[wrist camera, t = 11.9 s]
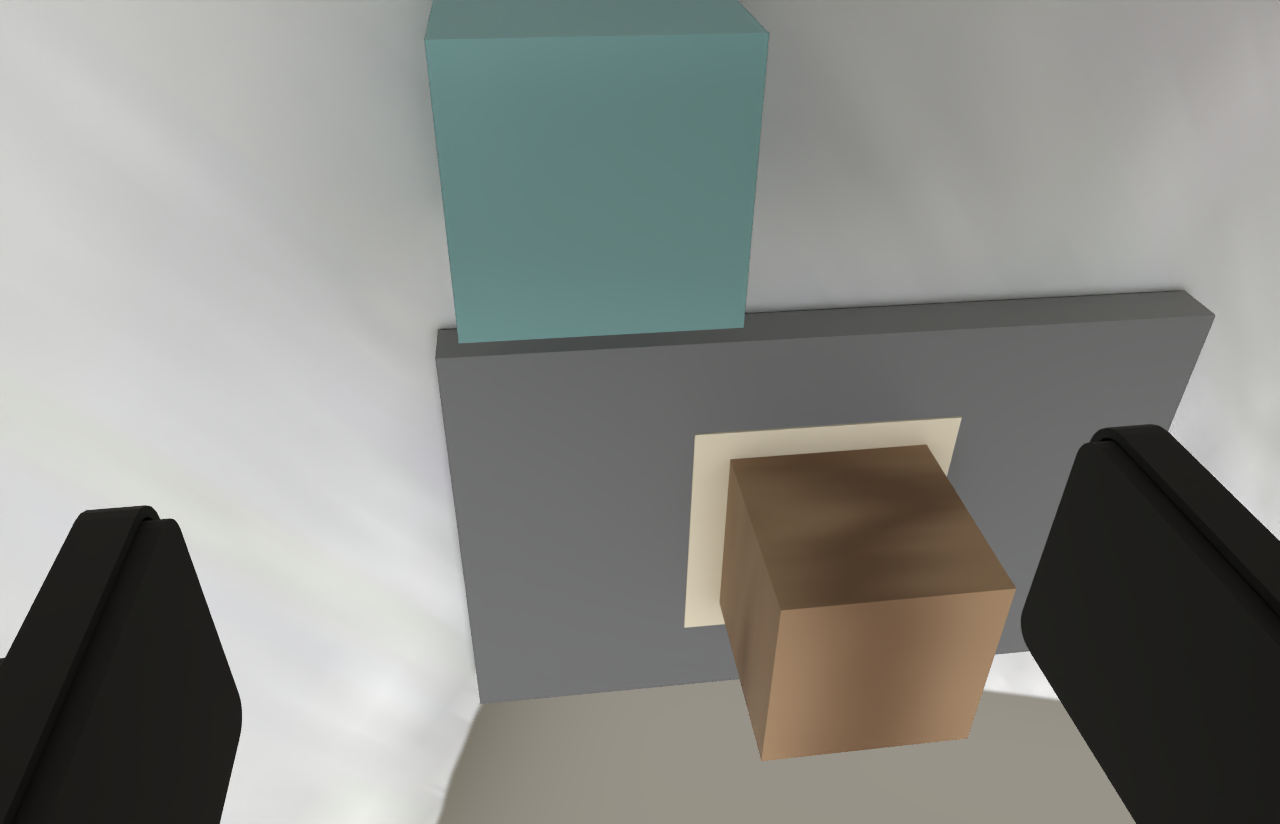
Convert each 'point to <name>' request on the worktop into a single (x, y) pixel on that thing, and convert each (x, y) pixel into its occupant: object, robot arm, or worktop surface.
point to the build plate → (760, 427)
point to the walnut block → (857, 600)
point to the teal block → (596, 163)
